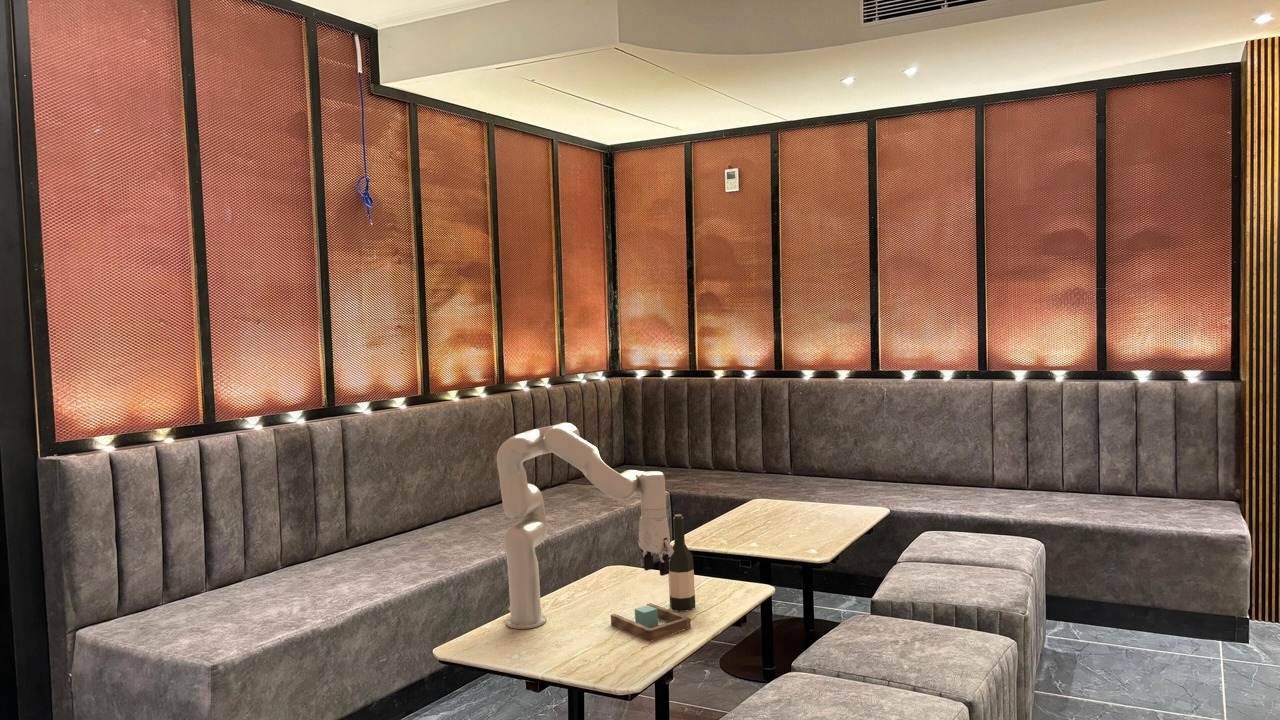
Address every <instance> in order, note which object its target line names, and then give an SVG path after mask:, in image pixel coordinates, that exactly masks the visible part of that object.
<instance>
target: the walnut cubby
mask: <svg viewBox="0 0 1280 720" xmlns="http://www.w3.org/2000/svg"><path fill="white" fill-rule="evenodd" d="M646 605H649V606H651V607H654V608H656V609H658V619H661V620H662V621H665V620H666V622H667V623H663V624H660V625H656V626H653V627H649V628H648V627H646V626H643V625H641V624H638V623H636V622H635V620H631V619H628V618H626V617H624V616H623V615H622V616H621V615H619V614H616V613H611V614H610V624H611V626H614V627H616V628H619V629H621V630H623V631H625V632H627V633H630V634H633V635H635V636H637V637H639V638H642V639H644V640H646V641H649V642H653V641H655V639H656V640H658V638H659V639H662V638H664V636H665V637H667V635H668V636H670V634H671V635H673V634H672V633H674V634H676V633H675V632H677V633H679V632H678V631H680V632H682V631H681V630H683V629H686V630H688V629H687V628H689V629H691V628H692V625H691V623H692V622H691V617H688V616H687V615H683V614H681V613H678V612H677V611H674V610H670V609H667V608H665V607H663V606H659V605H657V604H654V603H652V602H649V603H646ZM690 627H691V628H690ZM683 631H684V630H683ZM661 637H662V638H661Z"/></svg>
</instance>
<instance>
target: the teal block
mask: <svg viewBox="0 0 1280 720" xmlns="http://www.w3.org/2000/svg"><path fill="white" fill-rule="evenodd" d="M634 622H636V623H638V624H641V625H643V626H646V627H648V628H653V627H657V626H659V618H658V609H656V608H654V607H651V606H649V605H647V604H646V605H644V606H640V607H636V608H635V609H634ZM652 626H653V627H652Z"/></svg>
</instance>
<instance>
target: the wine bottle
mask: <svg viewBox="0 0 1280 720" xmlns="http://www.w3.org/2000/svg"><path fill="white" fill-rule="evenodd" d="M672 520H673V521H672V522H673V541H674V544H673V545H672V546H671V547H672V548H673V550H674V553H673V554H672V557H671V558H670V561H669V574H667V576H668V592H669V607H671V608H670V609H671V611H675V610H677V611H676V612H680V611H681V612H687V611H686V610H690V611H692V610H694V609H695V608H696V591H695V588H696V587H695V571H694V568H695V567H694V556H693V553H691V551H690V549H689V548H688V546H687V545H686V541H685V521H684V520H685V519H684V516H683V515H682V514H679V513H678V514H674V517H673V518H672ZM693 608H694V609H693Z"/></svg>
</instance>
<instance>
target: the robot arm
mask: <svg viewBox="0 0 1280 720" xmlns="http://www.w3.org/2000/svg"><path fill="white" fill-rule="evenodd" d="M550 453H552V454H554V455H555V456H556V457H559V458H560V459H562V460H564V461H565V462H567V463H568V464H570V465H571V466H573V467H574V468H576V469H578V470H579V471H581V472H582V474H583V475H584V476H585V477H586V479H588V481H589V482H590V483H591V484H592V485H593V486H594V487H596V488H597V489H598V490H600V491H601V492H602V493H605V494H606V495H608V496H609V497H611V498H613V499H615V500H617V501H626V500H629V499H630V498H632V497H633V496H636V495H638V494H640V495H639V496H640V497H639V498H640V512H641V513H640V514H641V515H640V517H639V523H638V524H639V527H638V541H637V544H638V546H639V548H640V551H641V553H642V554H641V556H642V557H643V567H644V568H643V570H644V571H646V572H647V571H651V570H653V569H654V567H655V565H654V564H655V563H654V555H653V554H655V555H658V557H659V561H660V562H659V563H658V564H659V575H660V576H661V577H662V576H668V574H669V561H670V558H671V557H672V554H673V553H674V550H673V548H672V547H673V546H672V545H671V535H670V527H669V522H668V518H667V499H666V498H667V496H666V480H665V479H666V477H665V474H664V473H663V472H662V471H657V470H651V471H642V470H636V469H627V470H624V471H623V472H620V473H619V472H618V471H616V470H615V469H613V468H611V467H610V466H609V465H607V463H605V462H604V461H603V460H602V458H601V456H600V451H599V449H598V448H597V447H596V446H595V445H593V444H592V443H590V442H588V441H587V440H585V439H584V438H582V437H581V436H580V431H579V429H578V428H577V427H576V426H575V425H574V424H573V423H570V422H561V423H557V424H553V425H549V426H543V427H539V428H533V429H530V430H527V431H524V432H520V433H518V434H515V435H513V436H511V437H509V438H508V439H506V440H505V441H504V442H502V444H501V445H500V447H499V448H498V449H497V453H496V466H497V471H498V478H499V487H500V494H501V500H502V509H503V511H504V514H505V515H506V516H507V518H509V519H511V520H518V522H516V523H515V524H513V525H511V526H510V527H509V528H508V529H507V531H506V532H505V534H504V537H503V547H504V552H505V557H506V562H507V564H506V565H507V575H508V577H507V578H508V590H509V591H508V593H509V606H508V608H507V609H508V611H509V612H510V616H509V617H507V619H506V620H505V625H506V626H507V627H509V628H511V629H517V630H525V629H527V630H528V629H534V628H537V627H540V626H542V625H544V624H545V623H546V622H547V616H546V614H544V613H542V607H541V587H540V574H539V573H540V571H539V561H538V558H537V554H536V551H535V550H536V547H538V546H539V545H541V544H542V543H543V542H544V541H545V539H546V538H547V535H548V534H547V533H548V526H547V525H548V523H547V517H546V509H545V504H544V503H545V502H544V497H543V494H542V491H541V490H540V489H539V487H537V486H536V485H535V484H532V483H528V475H527V471H526V469H525V466H524V462H525V461H527V460H528V461H529V460H530V459H531V460H532V459H534V458H536V457H538V456H541V455H546V454H550ZM663 554H664V555H663Z"/></svg>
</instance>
